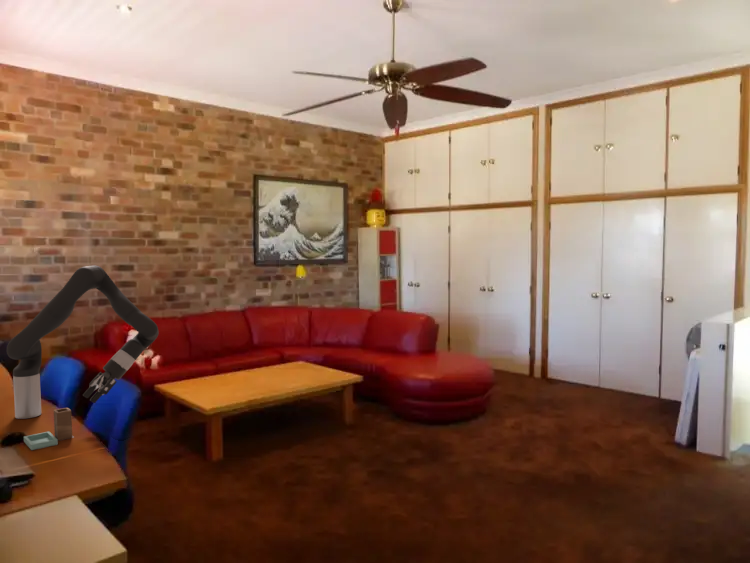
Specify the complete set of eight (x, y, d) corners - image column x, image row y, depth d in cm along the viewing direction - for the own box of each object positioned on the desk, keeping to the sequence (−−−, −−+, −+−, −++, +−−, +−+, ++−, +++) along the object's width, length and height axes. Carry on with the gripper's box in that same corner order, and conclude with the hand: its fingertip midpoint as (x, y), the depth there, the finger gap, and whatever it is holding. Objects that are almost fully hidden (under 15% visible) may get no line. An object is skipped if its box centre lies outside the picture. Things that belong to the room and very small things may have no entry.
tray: (23, 443, 198) (23, 436, 197) (49, 437, 203) (49, 431, 203) (31, 452, 189) (31, 445, 189) (57, 446, 195) (57, 439, 194)
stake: (52, 438, 202) (52, 422, 202) (69, 435, 206) (69, 419, 205) (57, 442, 198) (56, 426, 198) (74, 438, 202) (73, 422, 201)
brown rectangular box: (54, 437, 202) (53, 410, 201) (68, 434, 205) (67, 407, 204) (58, 440, 199) (56, 412, 198) (72, 437, 202) (71, 410, 201)
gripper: (105, 355, 217) (74, 390, 210) (118, 361, 207) (86, 397, 200) (120, 367, 221) (90, 401, 214) (133, 373, 211) (102, 409, 204)
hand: (88, 399), depth 207 cm, fingers open, 8 cm apart
